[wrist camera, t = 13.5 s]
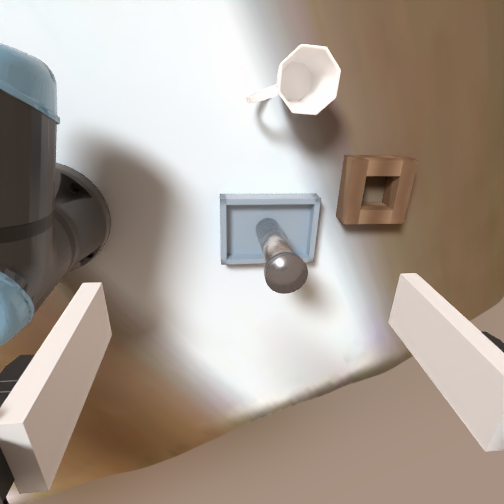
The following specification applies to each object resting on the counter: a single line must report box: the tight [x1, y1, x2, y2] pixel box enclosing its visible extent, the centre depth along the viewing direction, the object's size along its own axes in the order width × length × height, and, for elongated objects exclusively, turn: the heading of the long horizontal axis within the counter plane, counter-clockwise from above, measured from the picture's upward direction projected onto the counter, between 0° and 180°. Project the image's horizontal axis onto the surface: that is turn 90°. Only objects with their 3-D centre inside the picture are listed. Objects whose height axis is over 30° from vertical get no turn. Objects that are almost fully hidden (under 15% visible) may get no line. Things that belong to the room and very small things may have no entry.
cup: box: [246, 44, 341, 115], centre depth 40 cm, size 7×10×8 cm
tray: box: [220, 194, 321, 265], centre depth 50 cm, size 14×10×2 cm
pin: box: [256, 218, 308, 293], centre depth 44 cm, size 5×5×14 cm
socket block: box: [336, 155, 418, 224], centre depth 49 cm, size 9×9×4 cm
